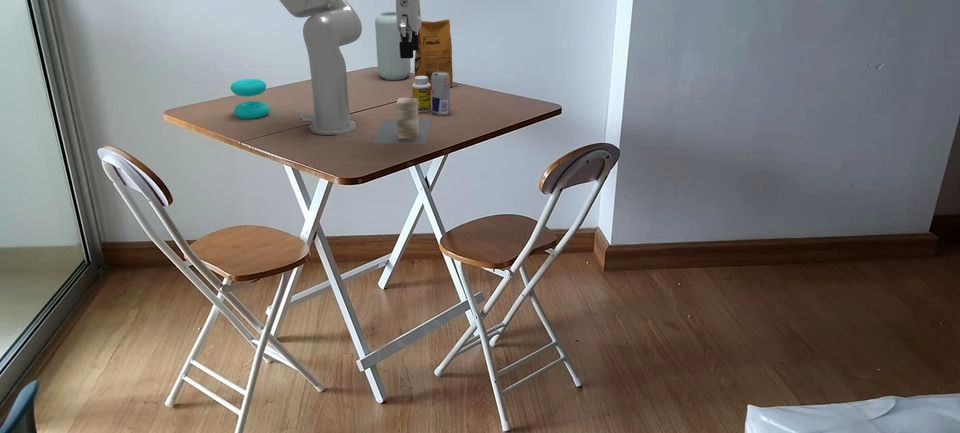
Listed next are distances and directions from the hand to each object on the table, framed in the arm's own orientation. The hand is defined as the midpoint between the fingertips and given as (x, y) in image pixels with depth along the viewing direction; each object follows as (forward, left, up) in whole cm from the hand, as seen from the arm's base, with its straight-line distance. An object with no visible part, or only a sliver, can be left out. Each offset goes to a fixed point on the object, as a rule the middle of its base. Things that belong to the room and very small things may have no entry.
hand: (409, 54), depth 185 cm
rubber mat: (-4, +9, -23) cm, 25 cm away
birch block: (-2, +4, -23) cm, 23 cm away
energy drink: (+5, +28, -24) cm, 37 cm away
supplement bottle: (-1, +31, -24) cm, 39 cm away
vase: (-15, +73, -24) cm, 78 cm away
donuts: (-51, +25, -24) cm, 61 cm away
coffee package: (0, +61, -24) cm, 65 cm away
